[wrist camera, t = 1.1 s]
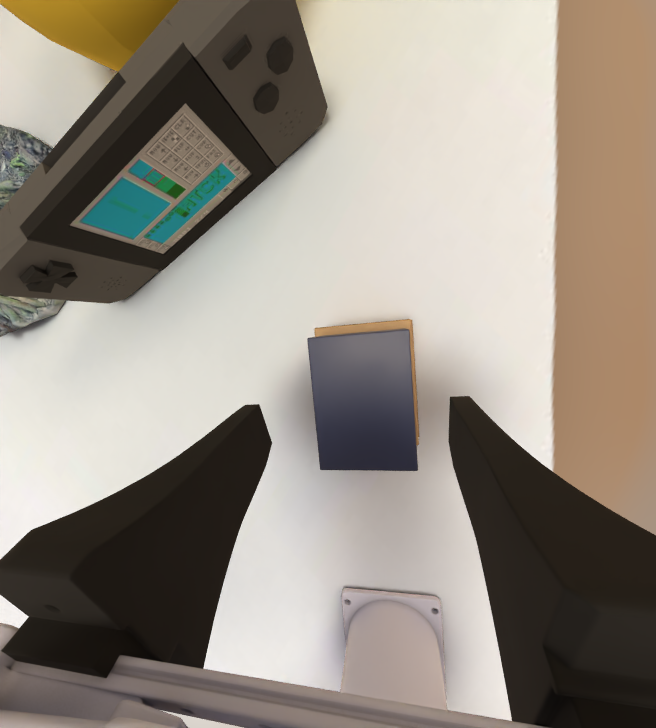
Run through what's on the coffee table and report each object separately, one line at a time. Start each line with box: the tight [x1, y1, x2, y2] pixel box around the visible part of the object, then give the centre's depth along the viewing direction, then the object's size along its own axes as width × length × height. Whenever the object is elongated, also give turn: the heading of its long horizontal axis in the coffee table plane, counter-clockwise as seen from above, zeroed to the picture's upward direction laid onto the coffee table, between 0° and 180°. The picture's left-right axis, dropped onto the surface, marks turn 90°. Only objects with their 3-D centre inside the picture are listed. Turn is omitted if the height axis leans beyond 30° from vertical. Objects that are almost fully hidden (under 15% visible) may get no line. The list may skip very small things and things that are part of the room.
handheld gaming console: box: [0, 0, 327, 303], centre depth 20 cm, size 23×3×10 cm, turn 124°
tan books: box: [315, 319, 419, 445], centre depth 21 cm, size 8×6×5 cm
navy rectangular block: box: [307, 328, 418, 471], centre depth 17 cm, size 7×5×4 cm
